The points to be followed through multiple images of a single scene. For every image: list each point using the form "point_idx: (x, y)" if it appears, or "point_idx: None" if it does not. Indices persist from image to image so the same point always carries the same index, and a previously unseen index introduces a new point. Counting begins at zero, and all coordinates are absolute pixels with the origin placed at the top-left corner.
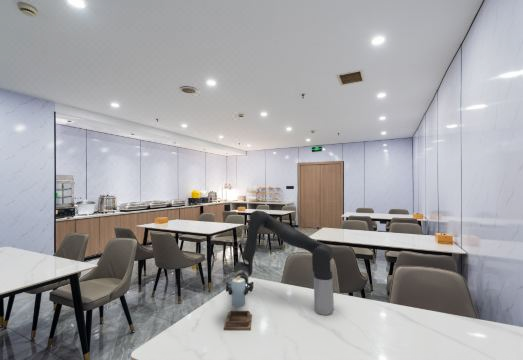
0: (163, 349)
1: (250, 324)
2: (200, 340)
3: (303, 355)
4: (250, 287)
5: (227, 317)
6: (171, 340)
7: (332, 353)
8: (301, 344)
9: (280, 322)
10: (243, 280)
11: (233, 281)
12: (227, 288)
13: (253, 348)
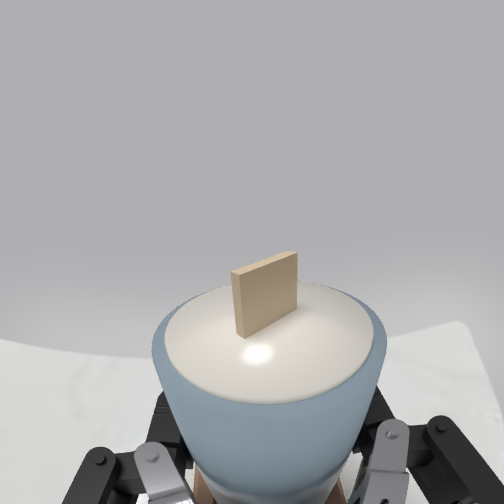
0: (437, 340)
1: (197, 481)
2: (381, 387)
3: (81, 353)
4: (113, 455)
5: (336, 484)
6: (452, 363)
7: (33, 349)
8: (62, 379)
9: (60, 487)
10: (183, 313)
11: (325, 288)
12: (418, 429)
13: None
